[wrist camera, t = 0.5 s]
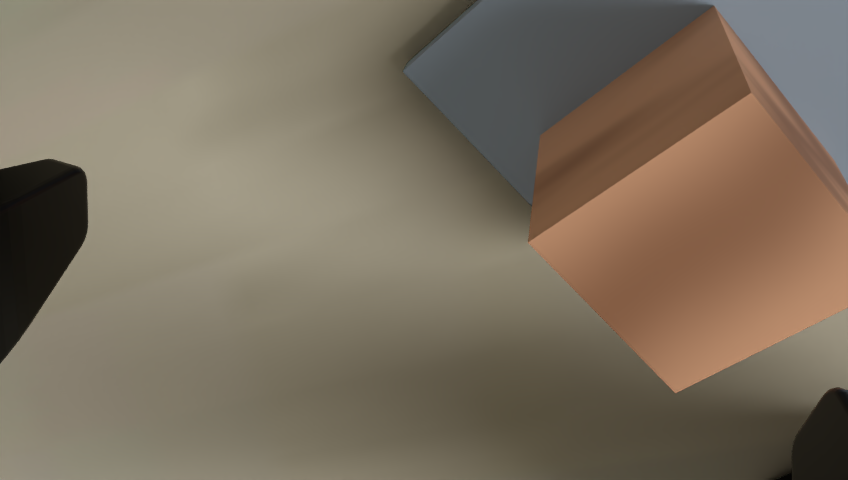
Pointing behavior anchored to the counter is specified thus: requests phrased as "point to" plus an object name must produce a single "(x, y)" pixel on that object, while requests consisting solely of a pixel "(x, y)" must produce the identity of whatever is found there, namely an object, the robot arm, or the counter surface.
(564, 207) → the terracotta block
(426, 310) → the counter surface
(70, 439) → the counter surface
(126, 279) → the counter surface
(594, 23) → the board
